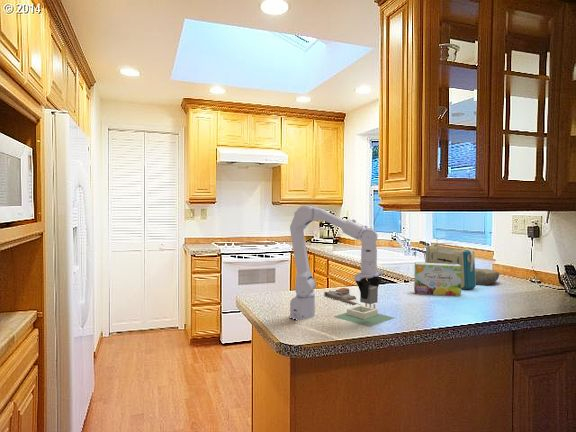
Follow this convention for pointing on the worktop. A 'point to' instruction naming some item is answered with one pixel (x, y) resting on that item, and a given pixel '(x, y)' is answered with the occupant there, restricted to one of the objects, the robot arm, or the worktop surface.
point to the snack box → (437, 279)
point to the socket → (362, 312)
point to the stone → (485, 276)
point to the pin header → (370, 305)
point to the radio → (454, 261)
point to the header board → (366, 322)
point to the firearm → (341, 295)
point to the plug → (371, 295)
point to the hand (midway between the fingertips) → (368, 297)
